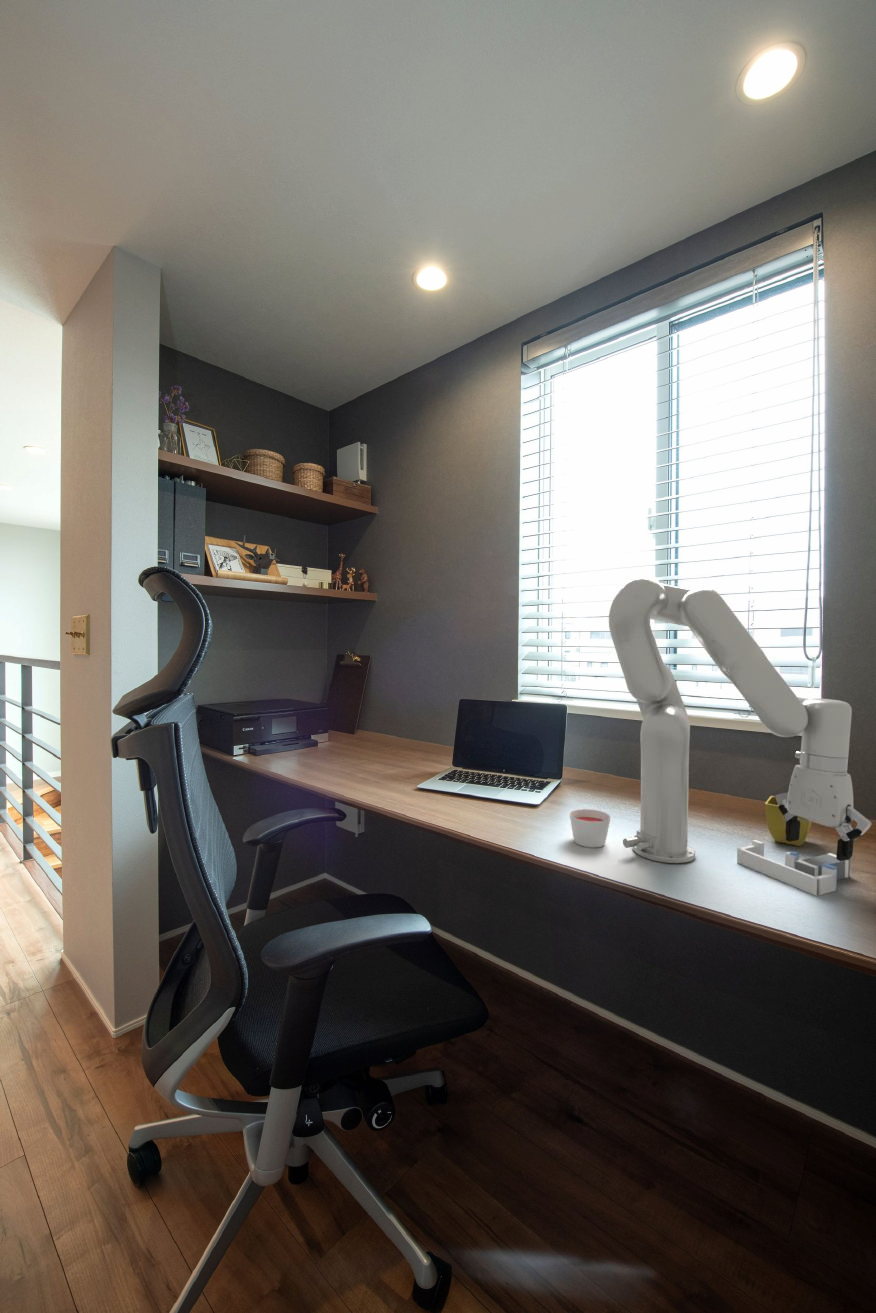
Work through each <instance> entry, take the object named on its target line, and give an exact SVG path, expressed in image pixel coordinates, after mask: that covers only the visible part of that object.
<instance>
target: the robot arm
mask: <svg viewBox="0 0 876 1313" xmlns="http://www.w3.org/2000/svg"><path fill="white" fill-rule="evenodd" d="M608 613H609V614H608V628H609V632H610V637H611V640H612V643H613V646H614V649H615V651H616V652H615V653H616V655H617V659H618V662H619V665H620V668H621V671H622V674H623V676H624V680H625V684H626V687H627V690H628V692H629V694H630V695H631V696H632V697H633V699H635V700H636V703H637V706H638V708H639V711H640V713H641V717H642V722H641V725H640V733H639V734H640V736H639V738H640V741H639V742H640V820H639V822H640V824H639V825H640V828H639V829H638V830H636V835H634V837H626V838H623V840H622V844H623V847H624V848H626V849H629V848H632V850H633V851H634V852H635V853H636V854H637V855H639V856H641V857H643V858H646V859H648V860H651V861H655V862H659V863H668V864H684V863H685V864H686V863H689V862H691V861H693V860H695V858H696V849H694V848H693V847H692V846H691V845H689V844H688V838H689V836H688V835H689V834H688V828H689V825H688V824H689V821H688V820H689V775H690V774H689V772H690V771H689V770H690V769H689V764H690V762H689V761H690V737H691V736H690V735H691V732H690V731H691V722H690V718H689V714H688V712H687V710H686V707H685V704H684V701H683V699H682V696H681V694H680V691H679V690H680V689H679V687H678V684H677V682H676V679H675V677H674V674H673V673H672V670H671V669H670V666H669V665H667V664H666V663H665V662H664V660H663V658H662V656H661V654H660V651H659V648H658V644H657V641H656V638H655V635H654V633H653V631H652V627H651V620H654V621H657V622H658V621H659V622H664V623H668V624H674V625H679V626H683V627H688V628H689V630H690V631H691V632H692V634H693V635H694V636H695V637H696V639H697V640H698V641H699V643H700V644H701V646H702V647H703V649H704V650H705V651H706V652H707V654H708V655H709V657H710V658H711V660H712V661H713V662H714V664H715V665H716V666H717V668H718V669H719V671H720V672H721V673H722V674H723V675H724V677H726V678H727V679H728V680H729V681H730V682H731V683H732V684H733V686H734V687H735V688H736V689H737V691H738V692H739V693H740V694H741V696H742V697H743V699H744V700H745V701H746V702H747V704H748V705H749V707H750V708H751V709H752V710H753V712H754V714H755V715H756V716H757V717H758V719H759V721H760V722H761V724H762V725H763V727H765V728H766V730H767V731H768V732H769V733H771V734H773V735H775V736H777V737H781V738H792V737H795V736H797V735H800V734H801V744H800V746H801V747H800V751H796V752H795V753H794V757H795V758H797V759H798V760H799V764H796V765H795V766H794V767H793V771H792V774H791V776H790V781H789V786H788V791H787V792H782V793H779V794H775V798H776V801H777V803H778V805H779V810H780V811H781V813H782V814H783V818H784V820H785V821H786V831H785V834H786V841H789V842H790V841H796V840H799V834H800V821H799V820H797V819H798V818H799V817H800V818H803V819H806V820H809V821H812V823H815V824H818V825H822V826H824V827H829V828H831V829H833V828H834V829H835V830H836V832H837V833H838V835H839V837H840V838H839V839H837V845H836V846H837V847H836V855H837V856H836V859H837V860H839V861H845V860H849V859H850V860H851V858H852V857H853V852H854V851H853V850H854V841H855V840H858V838H860V837H862V836H864V835H865V834H866V832H867V831H868V830H869V829H870V828H871V826H872V822H871V820H869V819H868V818H866V817H865V816H864V815H863V814H862V813H860V812H859V811H858V810H856V809H855V808H854V791H853V790H854V789H853V782H852V781H853V780H852V777H851V774H850V773H848V764H849V763H848V762H849V755H850V754H849V753H850V752H849V750H850V739H851V738H850V737H851V726H852V714H853V713H852V710H853V709H852V706H851V705H850V704H849V703H848V702H846V701H843V700H840V699H830V698H804V697H797V695H796V694H795V693H794V691H793V690H792V688H791V687H790V686H789V684H788V683H787V682H786V681H785V679H784V678H783V677H782V675H781V674H780V673H779V671H777V669H776V668H775V667H774V665H773V664H772V662H771V661H770V660H769V659H768V657H767V655H766V654H765V652H764V651H763V649H762V648H761V647H760V646H759V644H758V643H757V642H756V640H755V639H754V638H753V637H752V635H751V633H749V632H748V630H747V628H746V627H745V626H744V624H742V622H741V621H740V619H739V618H738V617H737V615H736V614H735V613H734V611H733V610H732V609H731V608H730V606H729V605H728V603H726V601H725V599H724V598H723V597H722V596H721V594H719V593H718V592H717V591H715V590H714V589H712V588H710V587H697V588H694V589H693V588H685V587H680V586H674V585H669V584H665V583H661V582H659V581H658V580H657V579H655V578H652V577H650V576H638V577H636V578H634V579H631V580H630V581H628V582H627V583H625V585H623V587H621V589H620V590H619V591H618V592H617V593H616V595H615V596H614V597H613V600H612V603H611V605H610V609H609V612H608ZM786 800H787V802H786ZM853 821H854V822H856V824H857V825H856V827H855V828H853V827H852V823H853Z"/></svg>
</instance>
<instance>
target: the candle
mask: <svg viewBox="0 0 876 1313" xmlns="http://www.w3.org/2000/svg"><path fill="white" fill-rule="evenodd" d="M569 819H570V820H569V821H570V825H571V831H572V837H573V841H574V843H575V844H576V845H578V846H581V847H585V848H593V849H594V848H600V847H603V846H605V845H606V842H607V837H608V832H609V828H610V822H611V815H610V814H609V813H607V812H604V811H601V810H599V809H591V808H579V809H574V810H570V812H569Z"/></svg>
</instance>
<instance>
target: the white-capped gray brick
mask: <svg viewBox="0 0 876 1313" xmlns="http://www.w3.org/2000/svg"><path fill="white" fill-rule="evenodd" d="M836 856H837V853H833V852H829V853H828V852H827V853H826V854H822V855H818V856H813V857H809V858H805V859H799V860H797V861H795V869H796V870H799V871H801V872H804V873H806V874H809V875H811V876H814V877H817V876H821V875H822V864H824V863H827V864H830V865H833V866H836V867H837V881H838V880H842V879H847V878H850V875H851V872H850V871H851V869H850V868H851V858H850V859H849V860H845V861H839V860H837V859H836Z"/></svg>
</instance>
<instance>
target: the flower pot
mask: <svg viewBox="0 0 876 1313" xmlns="http://www.w3.org/2000/svg"><path fill="white" fill-rule="evenodd" d="M775 796H776V795H775ZM775 796H774V795H770V797H768V798H767V800H766V801H765V803H764V807H765V808H764V810H765V817H766V824H767V829H768V831H769V833H770V835H771V837H772V839H773V840H774V841H775V842H777V843H783V844H788V845H791V846H793V845H794V846H797V847H801V846H803V844H804V842H805V841H806V839H807V837H808V834H809V832H810V829H811V827H812V823H813V822H812V821H809V820H806V819H803V818H800V817H799V818H798V819H797V820H799V821H800V834H799V840H796V841H790V842H789V841H786V834H785V831H786V821H785V820H784V818H783V814H782V813H781V811H780V810H779V805H778V803H777V801H776V798H775ZM786 802H787V800H786Z"/></svg>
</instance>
